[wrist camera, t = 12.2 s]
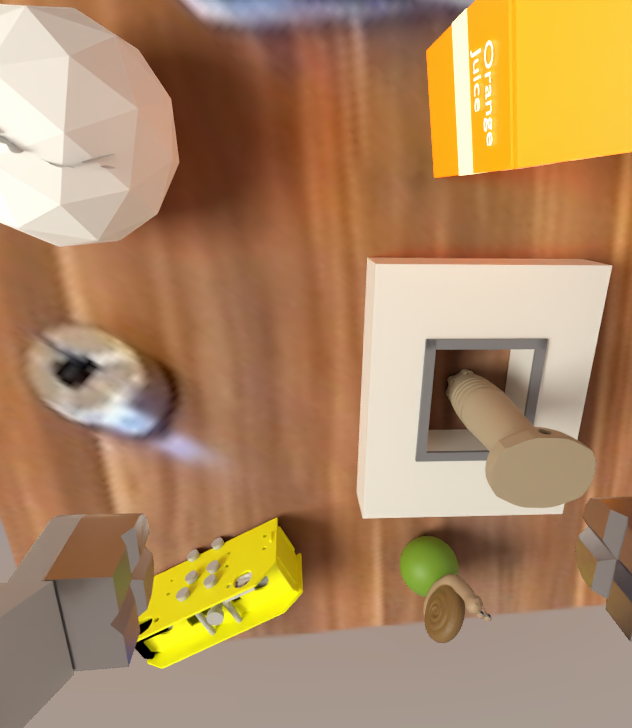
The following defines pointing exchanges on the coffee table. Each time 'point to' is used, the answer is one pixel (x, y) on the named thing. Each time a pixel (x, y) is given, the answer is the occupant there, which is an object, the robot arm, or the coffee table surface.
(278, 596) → the yellow toy chassis
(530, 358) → the socket board
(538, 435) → the handle
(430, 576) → the snail figurine
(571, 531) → the coffee table surface
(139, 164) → the geodesic sphere
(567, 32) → the orange juice
